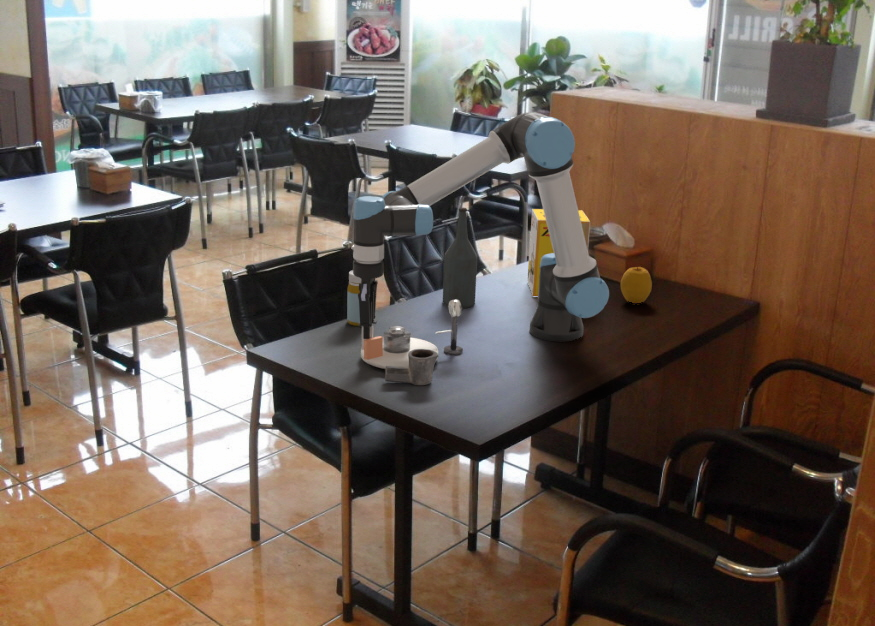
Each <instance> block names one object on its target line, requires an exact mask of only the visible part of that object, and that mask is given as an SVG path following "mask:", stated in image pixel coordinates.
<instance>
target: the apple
mask: <svg viewBox="0 0 875 626" xmlns="http://www.w3.org/2000/svg"><path fill="white" fill-rule="evenodd" d="M652 286H653V281H652V278H651V274H650V273H649V271H648V269H646V268H645V267H641V266H635V267H629V268H628V269H627V270H625V272H624V273H623V275H622V277H621V280H620V291H621V293H622V296H623V297H624V299H625V300H626V302H628V301H629V302H632V303H641V302H643V303H644V302H645V301H646V300H647V299H648V297H649V296H650V295H651V294H650V293H651V292H652ZM629 302H628V303H629ZM641 304H642V303H641Z"/></svg>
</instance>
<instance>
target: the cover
mask: <svg viewBox="0 0 875 626" xmlns="http://www.w3.org/2000/svg"><path fill="white" fill-rule="evenodd" d="M382 335H383V336H382V337H383V349H384V350H385V351H386V352H389V353H405V352H408V351H409V350H410V338H411V336H412V335H411V332H409V331H408V330H406V328H405V327H403V326H400V325H394V326H389V330H386V331H384V332H383V334H382Z"/></svg>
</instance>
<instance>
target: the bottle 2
mask: <svg viewBox="0 0 875 626" xmlns="http://www.w3.org/2000/svg"><path fill="white" fill-rule="evenodd" d="M458 211H459V212H458V220H457V225H456V226H457V227H456V232H455V233H456V234H455V238H454V240H453V241H452V243H451V244H450V246H449V247H448V249H447V250H446V251H445V253H444V256H443V257H444V258H443V278H442V279H443V280H442V283H443V285H442V303H443V305H444V306H445V307H448V305H449V302H450V301H451V300H459V301H460V303H461V306H462V310H463V309H470V308H472V307H474V305H475V303H476V293H477V292H476V291H477V290H476V289H477V288H476V287H477V273H478V272H477V268H478V253H477V252H476V250H475V249H474V247H473V245H472V243H471V242H470V240H469V237H468V235H469V234H468V222H467V221H468V219H467V211H468V209H467V208H466V207H459V209H458Z"/></svg>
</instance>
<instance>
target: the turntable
mask: <svg viewBox="0 0 875 626" xmlns="http://www.w3.org/2000/svg"><path fill="white" fill-rule="evenodd" d="M414 349H428V350H433V351H435V352H437V353H438V354H439V349H438V347H437V346H436V345H435V344H433V342H430V341H427V340H424V339H421V338H416V337H410V350H409V351H408V352H405V353H389V352H386V351H385V350H384V349H383V336H382V335H378V336H373V338H370V339H366V340H364V350H362V347H361V348H360V357H361V360H362V361H363V362H365V363H366V364H368V365H370V366H373V367H376V368H380V369H384V370H385V369H386V366H394V367H409V357H408V353H409V352H410V351H412V350H414ZM438 359H439V356H438V357H437V359H436V361H435V363H436V362H437V361H438Z"/></svg>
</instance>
